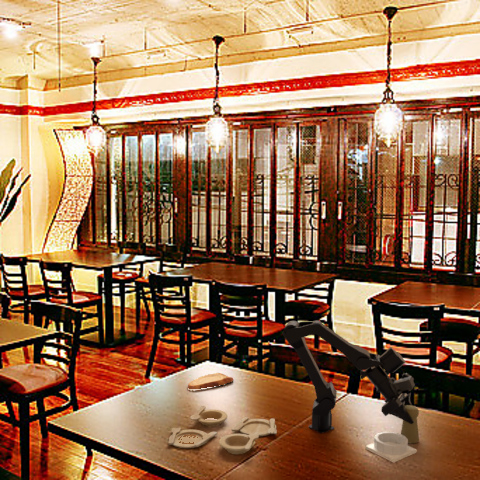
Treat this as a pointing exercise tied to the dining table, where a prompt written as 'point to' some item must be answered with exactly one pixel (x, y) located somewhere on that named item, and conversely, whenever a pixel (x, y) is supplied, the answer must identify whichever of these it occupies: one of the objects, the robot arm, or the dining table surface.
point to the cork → (411, 425)
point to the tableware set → (229, 442)
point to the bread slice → (210, 381)
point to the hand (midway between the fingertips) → (414, 420)
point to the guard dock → (389, 457)
